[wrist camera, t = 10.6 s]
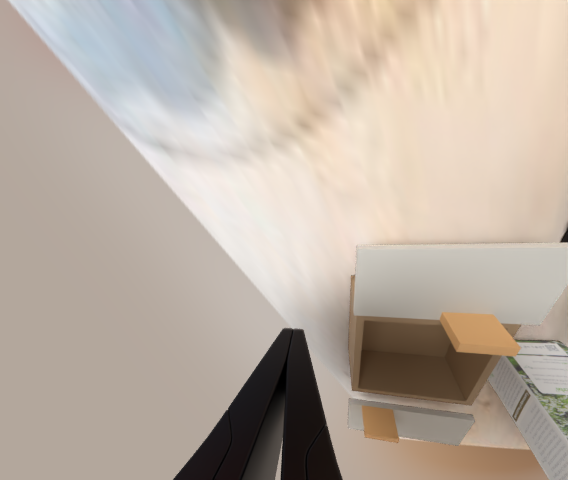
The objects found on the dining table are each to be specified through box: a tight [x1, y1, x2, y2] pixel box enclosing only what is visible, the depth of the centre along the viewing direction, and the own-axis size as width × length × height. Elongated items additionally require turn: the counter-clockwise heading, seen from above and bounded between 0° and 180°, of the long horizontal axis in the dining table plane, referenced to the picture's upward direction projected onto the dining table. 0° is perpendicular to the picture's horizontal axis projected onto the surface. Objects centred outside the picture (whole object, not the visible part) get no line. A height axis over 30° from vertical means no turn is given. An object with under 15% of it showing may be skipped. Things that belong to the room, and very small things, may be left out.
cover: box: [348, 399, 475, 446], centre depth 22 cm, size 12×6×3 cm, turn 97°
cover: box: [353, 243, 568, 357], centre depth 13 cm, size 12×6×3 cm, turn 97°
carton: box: [348, 275, 521, 405], centre depth 21 cm, size 11×12×5 cm
